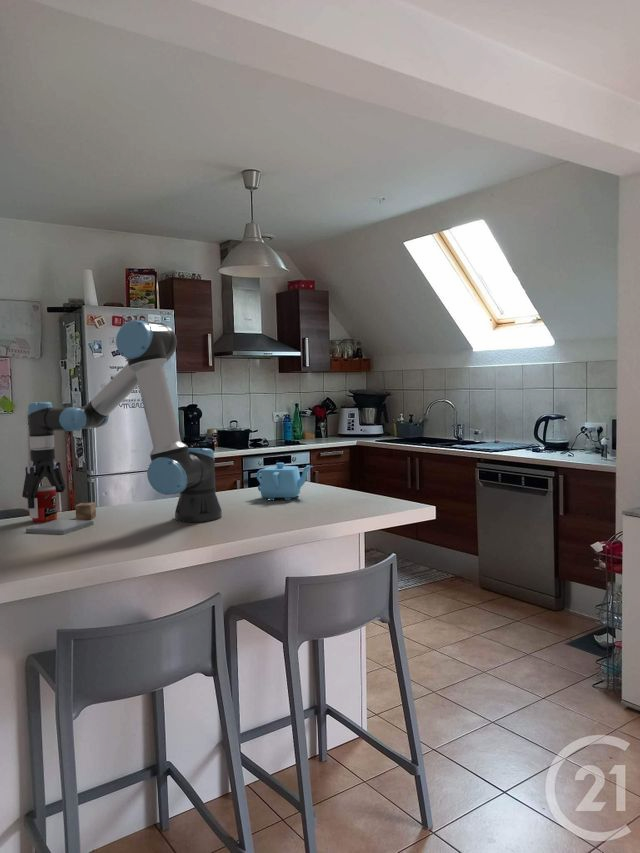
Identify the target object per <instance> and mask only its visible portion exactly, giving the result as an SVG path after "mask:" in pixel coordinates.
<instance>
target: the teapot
mask: <svg viewBox="0 0 640 853" xmlns="http://www.w3.org/2000/svg"><path fill="white" fill-rule="evenodd" d="M275 465H276V466H275ZM275 465H274V466H272V465H271V466H267V467H265V468H261V469H259V470H258V471H257V472H256V474H255V475H256V479H257V481H258V482H259V485H258V486H257V490H258V491H259V492H260V495H261V498H267V500H268V499H270V500H269V501H274V500H273V499H276V498H283V499H285V500H284V501H291V500H292V498H296V497H297V496H298V495H299V494H301V490H302V487H303V486H304V484H305V483H306V480H307V475H308V471H309V470H310V469H311V468H313V465H308V466H305V467H304V468H303V469H302V472H301V474H300V470H299V466H296V465H293V466H292V465H289V466H285V463H284V462H276V463H275ZM260 474H261V475H260ZM290 499H291V500H290Z"/></svg>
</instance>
